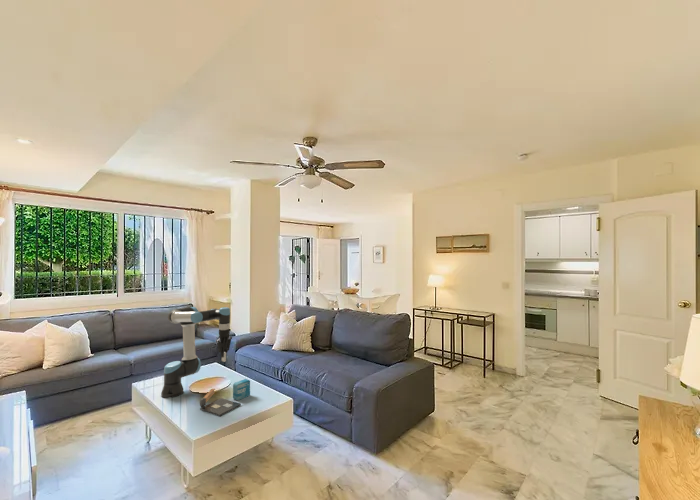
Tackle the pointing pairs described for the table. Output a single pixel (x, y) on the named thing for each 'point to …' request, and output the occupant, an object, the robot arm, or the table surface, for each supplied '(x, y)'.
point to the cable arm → (206, 397)
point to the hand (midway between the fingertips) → (223, 361)
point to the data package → (241, 389)
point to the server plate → (220, 407)
